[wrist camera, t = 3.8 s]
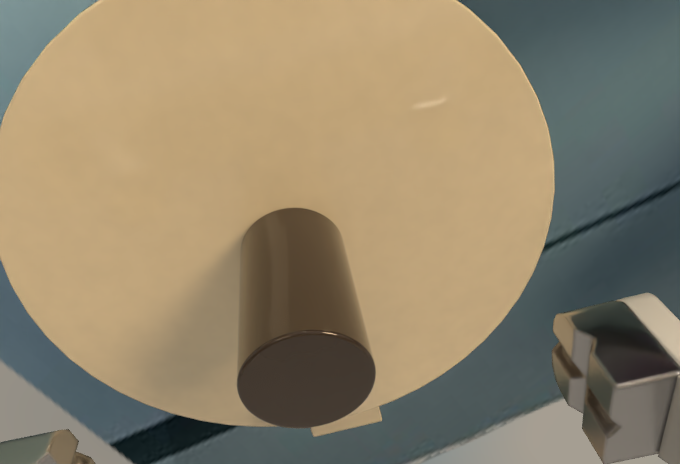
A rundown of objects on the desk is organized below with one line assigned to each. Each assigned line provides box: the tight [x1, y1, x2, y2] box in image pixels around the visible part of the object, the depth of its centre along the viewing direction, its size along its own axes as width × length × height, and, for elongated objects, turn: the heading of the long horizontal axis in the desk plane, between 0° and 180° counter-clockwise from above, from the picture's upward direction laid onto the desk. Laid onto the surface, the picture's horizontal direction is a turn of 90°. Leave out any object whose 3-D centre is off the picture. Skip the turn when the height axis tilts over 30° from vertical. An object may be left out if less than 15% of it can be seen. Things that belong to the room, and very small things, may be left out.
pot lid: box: [0, 0, 555, 428], centre depth 11 cm, size 13×13×5 cm
